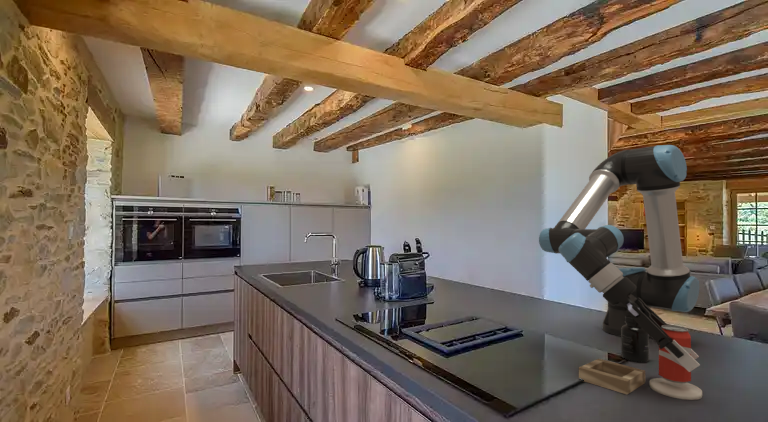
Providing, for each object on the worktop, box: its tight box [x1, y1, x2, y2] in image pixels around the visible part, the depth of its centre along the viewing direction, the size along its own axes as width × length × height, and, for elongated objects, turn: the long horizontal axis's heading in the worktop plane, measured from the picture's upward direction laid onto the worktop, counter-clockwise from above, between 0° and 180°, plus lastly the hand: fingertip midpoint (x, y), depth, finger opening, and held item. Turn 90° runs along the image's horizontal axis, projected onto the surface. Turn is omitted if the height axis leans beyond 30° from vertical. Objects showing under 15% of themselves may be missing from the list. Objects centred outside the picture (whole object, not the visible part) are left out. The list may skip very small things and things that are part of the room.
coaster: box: [649, 377, 703, 401], centre depth 95 cm, size 10×10×1 cm
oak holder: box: [578, 358, 646, 395], centre depth 100 cm, size 11×11×3 cm
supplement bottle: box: [620, 315, 650, 363], centre depth 117 cm, size 7×7×12 cm
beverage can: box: [658, 324, 692, 384], centre depth 95 cm, size 6×6×12 cm
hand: (693, 363), depth 93 cm, fingers closed on beverage can, 6 cm apart
